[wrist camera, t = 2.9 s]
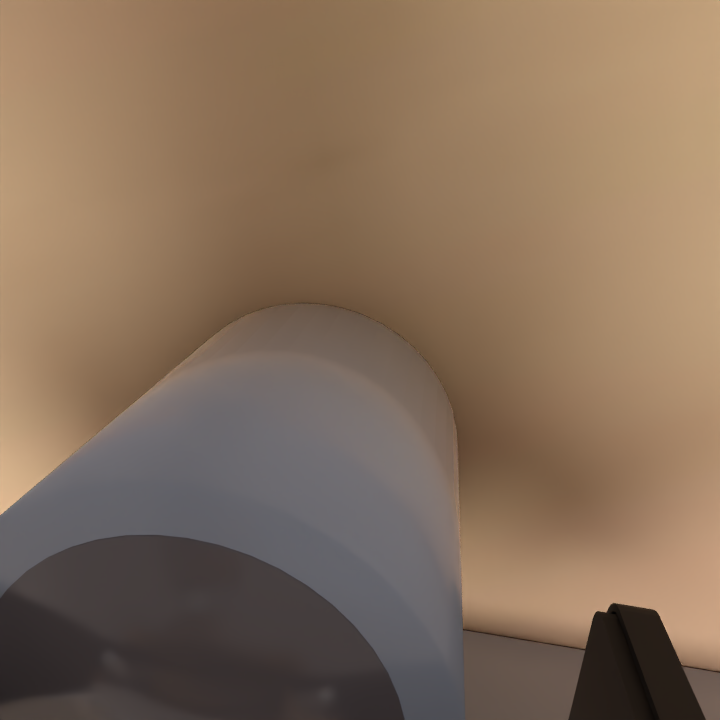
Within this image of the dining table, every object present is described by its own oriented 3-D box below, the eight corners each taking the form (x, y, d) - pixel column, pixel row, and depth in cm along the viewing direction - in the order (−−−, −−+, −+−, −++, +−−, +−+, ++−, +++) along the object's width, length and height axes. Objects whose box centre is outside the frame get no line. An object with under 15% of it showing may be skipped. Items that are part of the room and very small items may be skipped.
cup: (173, 285, 13) (-113, 440, 6) (478, 323, 12) (512, 534, 6) (173, 543, 15) (-45, 865, 8) (436, 585, 14) (426, 965, 8)
